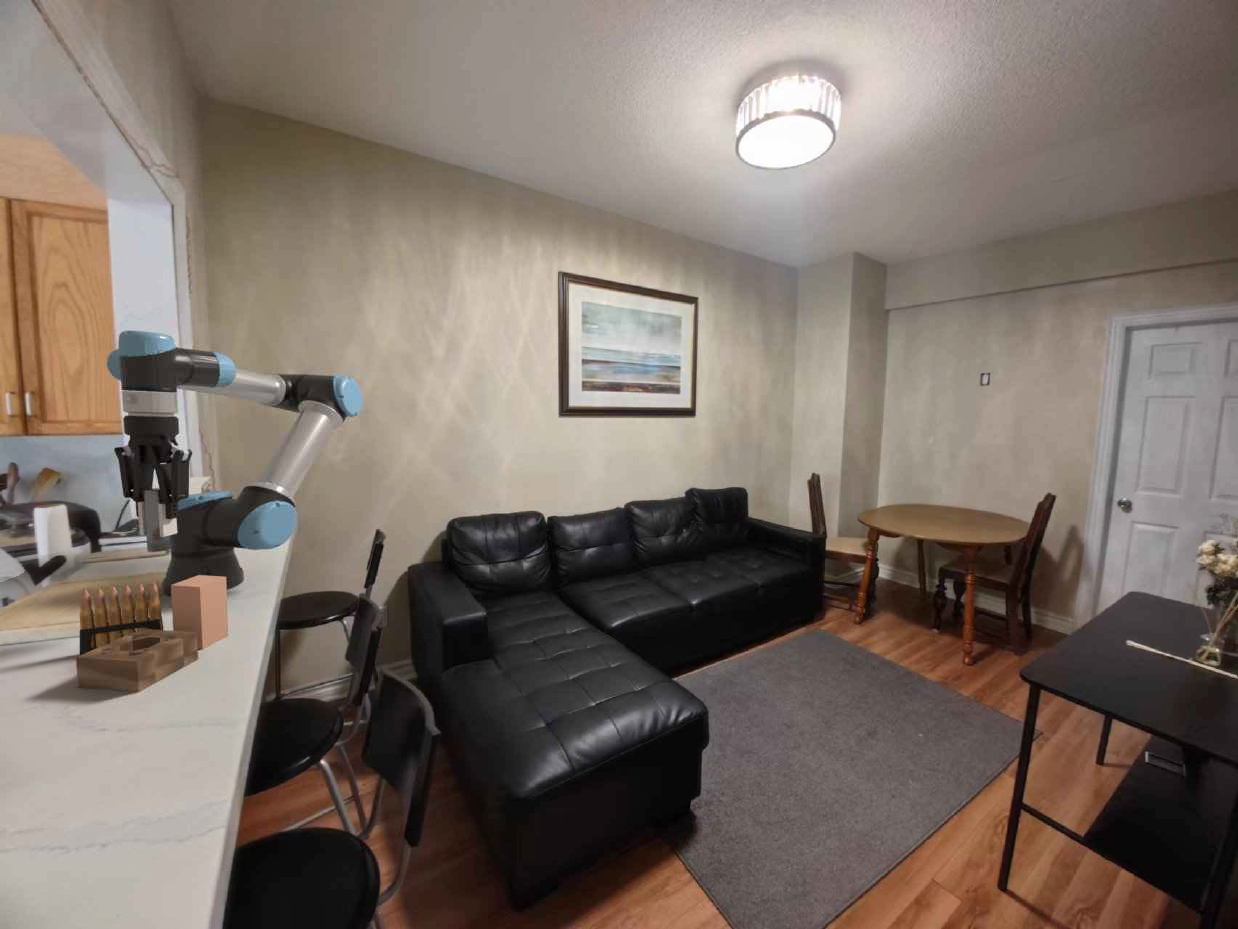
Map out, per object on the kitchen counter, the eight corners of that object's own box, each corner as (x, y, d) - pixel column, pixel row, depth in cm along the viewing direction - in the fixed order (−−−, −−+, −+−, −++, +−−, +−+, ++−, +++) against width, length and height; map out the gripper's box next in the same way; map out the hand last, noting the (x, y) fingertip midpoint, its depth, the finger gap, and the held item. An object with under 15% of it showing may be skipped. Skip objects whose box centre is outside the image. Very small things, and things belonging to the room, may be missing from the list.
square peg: (201, 634, 93) (198, 575, 92) (228, 635, 93) (226, 576, 91) (174, 647, 87) (170, 585, 86) (202, 649, 87) (199, 587, 86)
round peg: (160, 546, 95) (156, 487, 93) (176, 547, 95) (172, 488, 93) (142, 551, 91) (138, 490, 90) (159, 552, 91) (155, 491, 90)
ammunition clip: (79, 658, 83) (74, 592, 81) (84, 653, 84) (79, 588, 83) (162, 645, 88) (158, 583, 87) (165, 641, 90) (161, 580, 88)
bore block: (144, 655, 84) (142, 628, 84) (198, 659, 84) (196, 632, 83) (78, 687, 74) (75, 657, 74) (139, 691, 74) (137, 661, 73)
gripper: (87, 412, 87) (97, 536, 89) (173, 417, 86) (180, 541, 89) (131, 412, 94) (138, 527, 97) (210, 416, 94) (216, 531, 96)
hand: (158, 534), depth 93 cm, fingers closed on round peg, 3 cm apart
